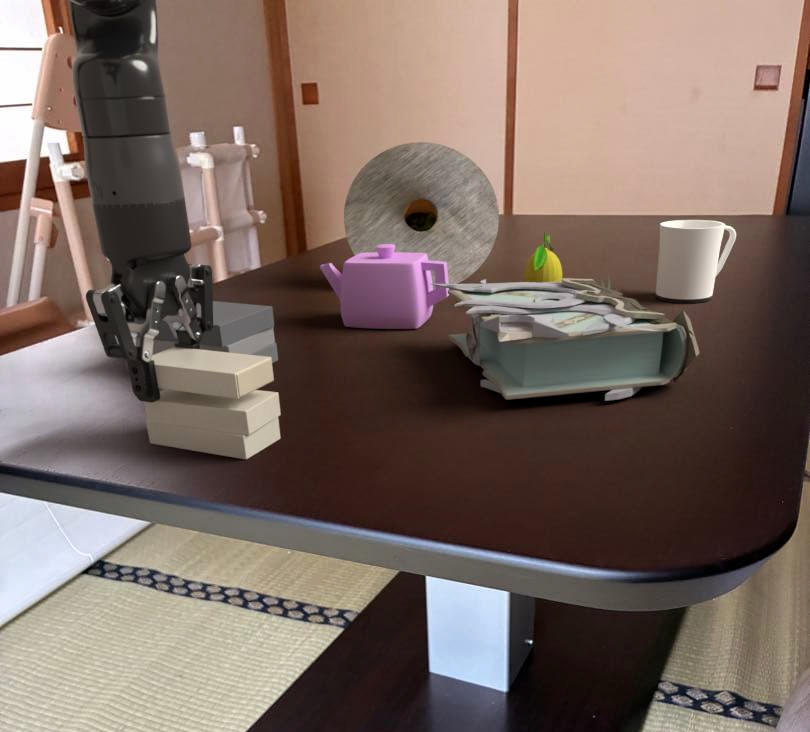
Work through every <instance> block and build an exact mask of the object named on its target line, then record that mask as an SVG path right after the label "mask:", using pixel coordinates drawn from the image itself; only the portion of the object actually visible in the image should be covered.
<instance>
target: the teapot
mask: <svg viewBox="0 0 810 732" xmlns="http://www.w3.org/2000/svg"><path fill="white" fill-rule="evenodd" d="M376 250H377V252H367V253H360V254H358V255H356V256H355V255H354V256H351V257H349V258H348V259H347V260H346V261H344V262H343V266H342V272H340V271H339V270H338V269H337V268H336V266H334V264H333V263H332V262H327V263H324V264H321V265H319V269H320V271H321V272H322V274H323V275H324V277H325V279H326V280H327V281H328V283H329V285H330V286H331V288H332V290H333V291H334V293H335V295H336V296H337V298H338V299H339V302H340V317H341V319H342V322H343V325H344V327H346V328H354V329H355V328H356V329H372V330H373V329H374V330H376V329H377V330H414V329H419V328H420V327H422V326H423V325H424V324H425V323H426V322H427V321H428V320H429V319H430V318H431V316H432V313H433V309H434V305H435V304H437V303H439V302H441V301H443V300H444V299H447V298H448V297H449V296H450V295H449V294H448V290H450V289H449V288H444V287H438V286H435V289H434V290H433V285H431V284H432V277H431V271H430V270H435V284H449V281H448V270H447V262H444V261H429V260H428V257H427V254H426V253H407V252H394V250H395V245H393V244H381V245H377V246H376Z"/></svg>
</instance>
